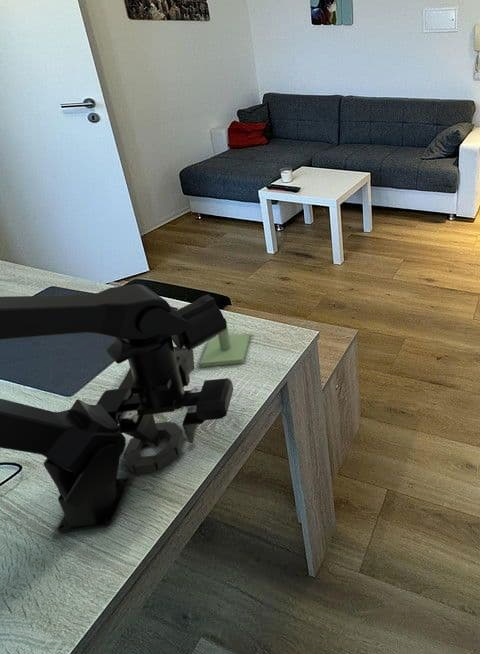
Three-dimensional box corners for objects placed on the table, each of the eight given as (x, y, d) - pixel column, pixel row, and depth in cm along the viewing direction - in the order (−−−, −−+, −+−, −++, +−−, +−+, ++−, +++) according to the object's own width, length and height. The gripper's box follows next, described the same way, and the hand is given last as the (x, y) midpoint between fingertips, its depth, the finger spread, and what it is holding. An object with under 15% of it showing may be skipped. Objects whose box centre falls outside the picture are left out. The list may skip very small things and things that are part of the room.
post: (242, 363, 86) (238, 334, 84) (200, 367, 85) (194, 338, 83) (249, 336, 94) (245, 310, 91) (211, 340, 93) (205, 313, 90)
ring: (173, 469, 66) (171, 462, 65) (117, 476, 64) (115, 469, 64) (189, 426, 73) (187, 419, 72) (139, 432, 72) (137, 425, 71)
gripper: (233, 325, 71) (245, 396, 77) (111, 335, 69) (133, 408, 75) (217, 375, 61) (232, 452, 67) (72, 389, 59) (101, 469, 64)
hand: (175, 443), depth 69 cm, fingers open, 5 cm apart
